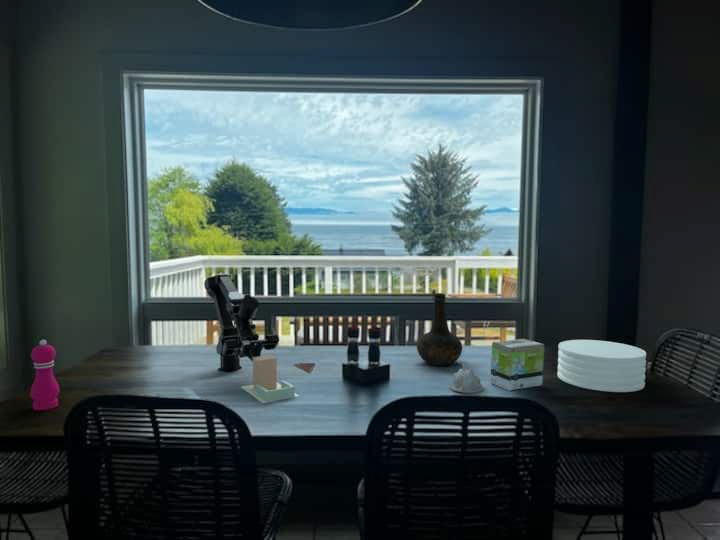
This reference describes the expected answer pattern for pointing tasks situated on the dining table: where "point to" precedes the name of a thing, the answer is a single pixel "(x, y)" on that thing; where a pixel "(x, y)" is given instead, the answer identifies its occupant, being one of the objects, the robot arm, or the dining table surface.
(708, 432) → the dining table surface
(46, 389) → the pepper mill
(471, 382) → the seashell
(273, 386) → the beige cardboard box
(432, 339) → the glass bottle
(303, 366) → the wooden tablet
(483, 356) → the dining table surface
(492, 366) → the tea box
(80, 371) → the dining table surface
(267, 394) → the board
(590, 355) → the plate stack
